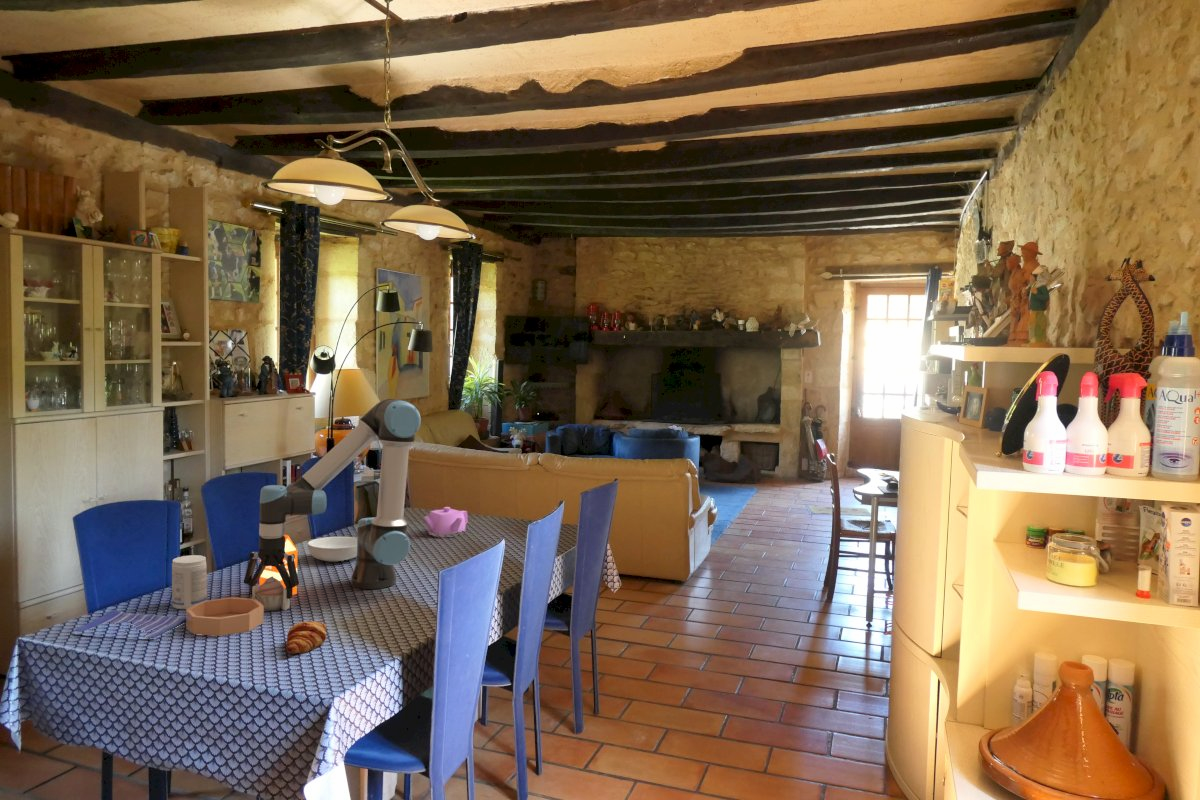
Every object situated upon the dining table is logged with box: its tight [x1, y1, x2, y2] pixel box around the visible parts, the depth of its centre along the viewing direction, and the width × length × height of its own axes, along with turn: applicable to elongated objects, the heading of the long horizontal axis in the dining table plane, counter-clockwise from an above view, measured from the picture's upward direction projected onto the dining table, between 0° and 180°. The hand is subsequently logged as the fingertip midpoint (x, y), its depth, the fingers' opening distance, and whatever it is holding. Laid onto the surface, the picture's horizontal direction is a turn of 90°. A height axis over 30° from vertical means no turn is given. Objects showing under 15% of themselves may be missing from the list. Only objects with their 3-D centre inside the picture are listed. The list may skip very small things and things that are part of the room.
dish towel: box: [74, 609, 186, 638], centre depth 230 cm, size 17×24×3 cm
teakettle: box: [423, 506, 469, 535], centre depth 362 cm, size 17×17×12 cm
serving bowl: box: [307, 536, 357, 563], centre depth 313 cm, size 21×21×7 cm
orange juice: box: [259, 534, 299, 596], centre depth 266 cm, size 8×9×20 cm
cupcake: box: [255, 576, 284, 612], centre depth 252 cm, size 9×9×10 cm
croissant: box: [285, 620, 327, 655], centre depth 223 cm, size 21×10×8 cm, turn 177°
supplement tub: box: [171, 554, 208, 610], centre depth 251 cm, size 10×10×15 cm
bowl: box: [185, 596, 264, 637], centre depth 235 cm, size 19×19×5 cm
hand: (270, 607), depth 252 cm, fingers closed on cupcake, 9 cm apart
